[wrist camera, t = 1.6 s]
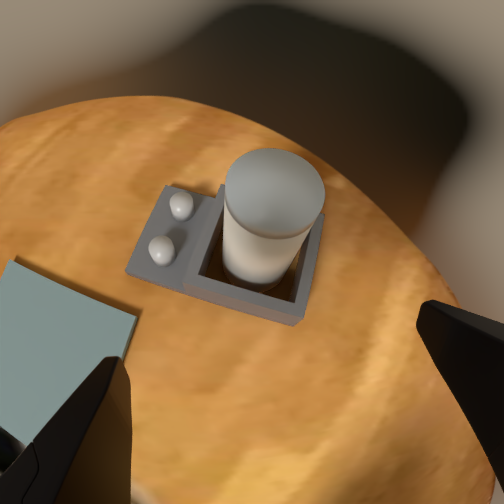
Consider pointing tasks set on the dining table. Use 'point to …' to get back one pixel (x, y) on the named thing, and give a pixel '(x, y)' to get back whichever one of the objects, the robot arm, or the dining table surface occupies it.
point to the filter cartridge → (267, 215)
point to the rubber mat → (49, 346)
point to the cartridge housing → (200, 252)
